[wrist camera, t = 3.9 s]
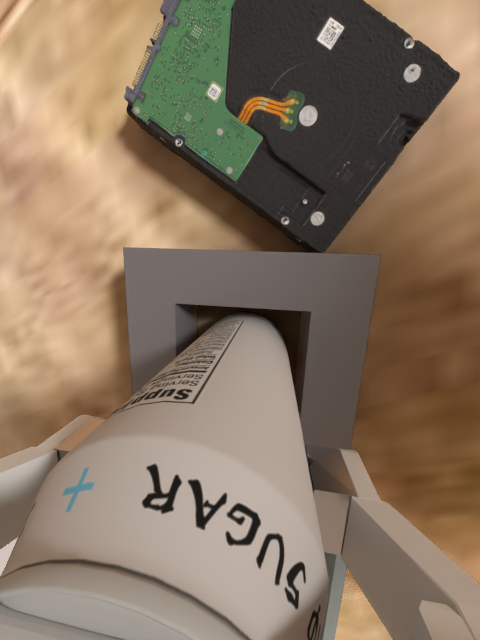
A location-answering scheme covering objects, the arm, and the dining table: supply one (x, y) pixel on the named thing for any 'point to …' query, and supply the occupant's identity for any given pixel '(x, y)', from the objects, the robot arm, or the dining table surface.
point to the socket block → (265, 293)
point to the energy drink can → (184, 507)
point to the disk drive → (287, 102)
